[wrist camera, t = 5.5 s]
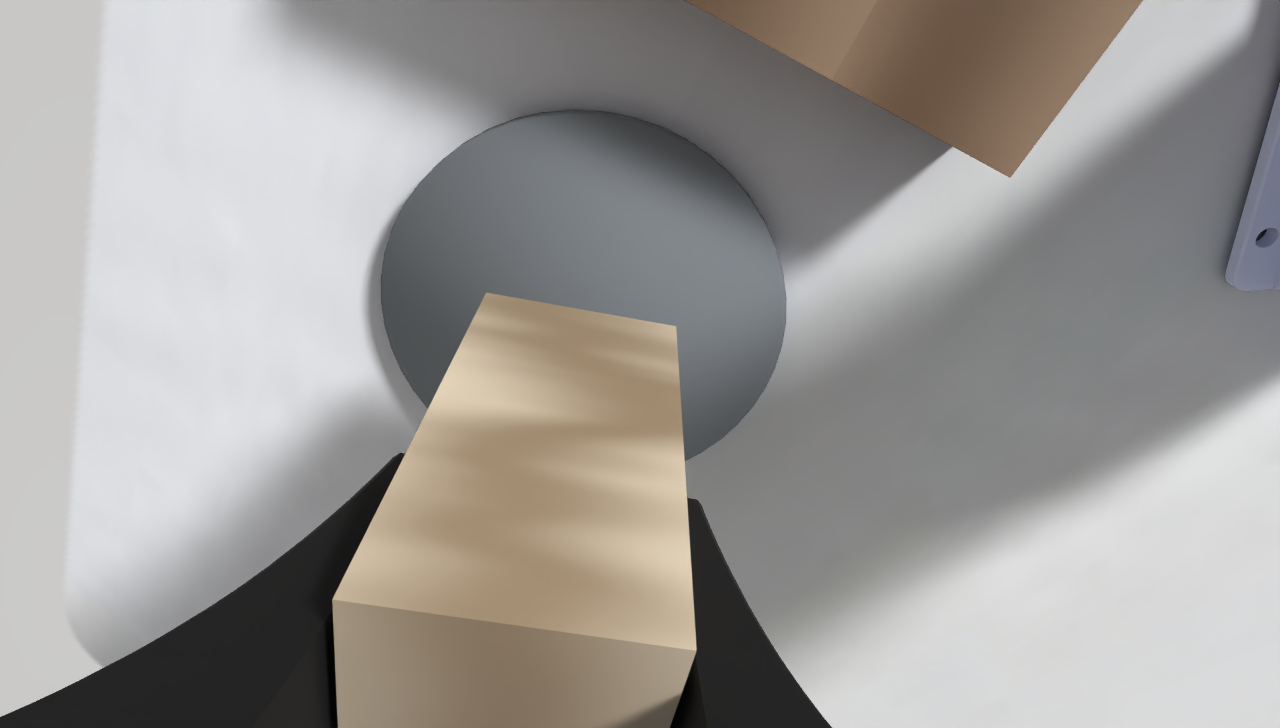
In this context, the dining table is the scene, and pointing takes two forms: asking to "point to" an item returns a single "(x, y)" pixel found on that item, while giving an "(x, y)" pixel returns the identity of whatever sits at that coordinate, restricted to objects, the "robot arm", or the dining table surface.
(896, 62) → the pocket block
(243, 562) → the dining table surface
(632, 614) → the peg
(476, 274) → the coaster
